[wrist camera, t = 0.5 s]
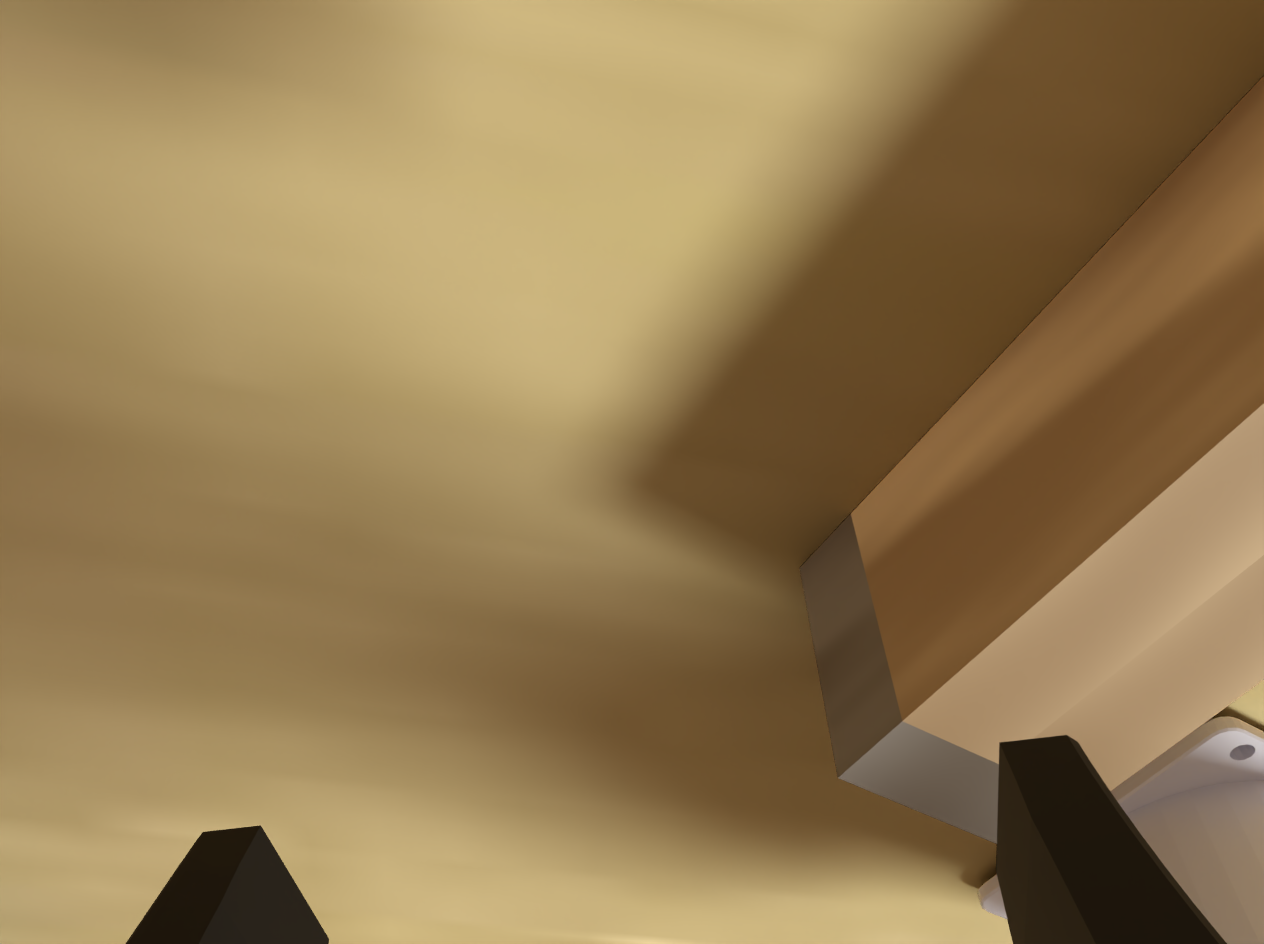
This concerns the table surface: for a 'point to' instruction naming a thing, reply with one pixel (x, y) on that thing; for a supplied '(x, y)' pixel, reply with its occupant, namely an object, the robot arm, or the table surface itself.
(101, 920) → the table surface
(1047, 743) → the robot arm
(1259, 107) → the tan wooden bar
